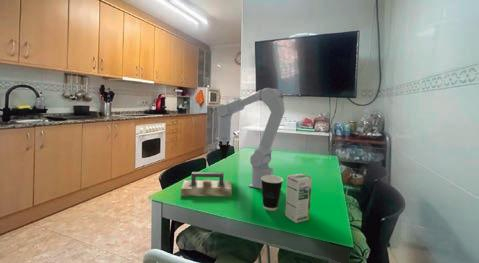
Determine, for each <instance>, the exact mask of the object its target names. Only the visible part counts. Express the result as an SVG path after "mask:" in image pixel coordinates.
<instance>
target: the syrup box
mask: <svg viewBox="0 0 479 263" xmlns="http://www.w3.org/2000/svg"><path fill="white" fill-rule="evenodd" d="M312 183H313V178H312V177H311V176H309V175H306V174H304V173H297V174H288V175H287V177H286V193H285V195H286V198H285V217H287V219H289V220H291V221H292V222H293V223H294V224H295V223H296V224H297V223H301V222H305V221H309V220H310V217H311V216H310V214H311V213H310V212H311V198H312Z"/></svg>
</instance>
